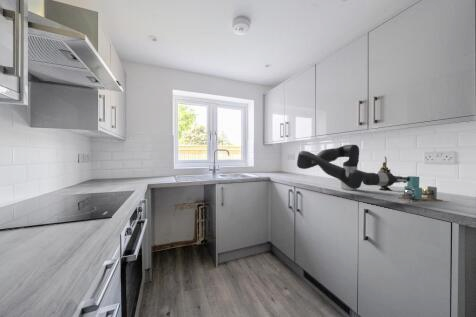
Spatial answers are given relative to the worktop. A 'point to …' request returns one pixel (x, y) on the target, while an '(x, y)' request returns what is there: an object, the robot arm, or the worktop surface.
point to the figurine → (385, 169)
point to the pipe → (430, 193)
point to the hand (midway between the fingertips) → (408, 179)
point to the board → (421, 199)
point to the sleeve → (414, 187)
